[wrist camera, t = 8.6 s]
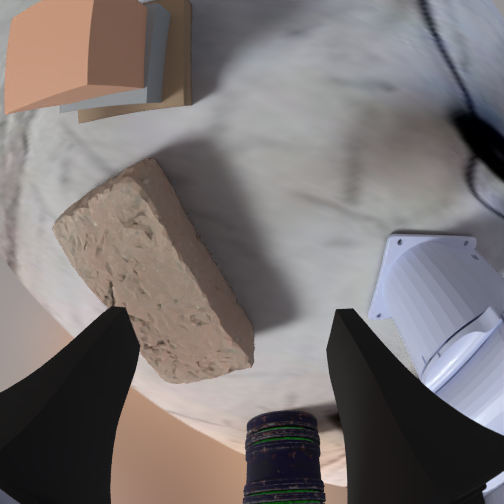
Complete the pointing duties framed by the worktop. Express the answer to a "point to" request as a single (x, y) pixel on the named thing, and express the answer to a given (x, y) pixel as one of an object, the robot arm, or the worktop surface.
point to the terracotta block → (74, 52)
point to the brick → (157, 275)
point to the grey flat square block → (152, 67)
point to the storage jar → (283, 459)
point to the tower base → (175, 67)
